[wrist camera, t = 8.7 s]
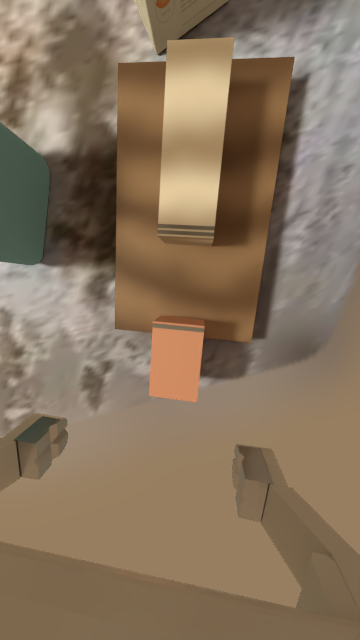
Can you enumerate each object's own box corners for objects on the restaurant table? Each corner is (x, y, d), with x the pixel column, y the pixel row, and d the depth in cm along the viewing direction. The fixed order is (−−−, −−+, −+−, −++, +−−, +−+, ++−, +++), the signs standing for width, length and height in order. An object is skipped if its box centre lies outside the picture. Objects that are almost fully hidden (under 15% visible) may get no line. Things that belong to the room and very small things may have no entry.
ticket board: (126, 85, 20) (97, 9, 15) (284, 81, 18) (319, -6, 13) (121, 325, 25) (99, 336, 19) (247, 337, 23) (261, 354, 18)
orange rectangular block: (160, 315, 22) (152, 321, 18) (204, 319, 21) (204, 326, 18) (156, 379, 23) (148, 396, 20) (197, 384, 23) (196, 402, 19)
